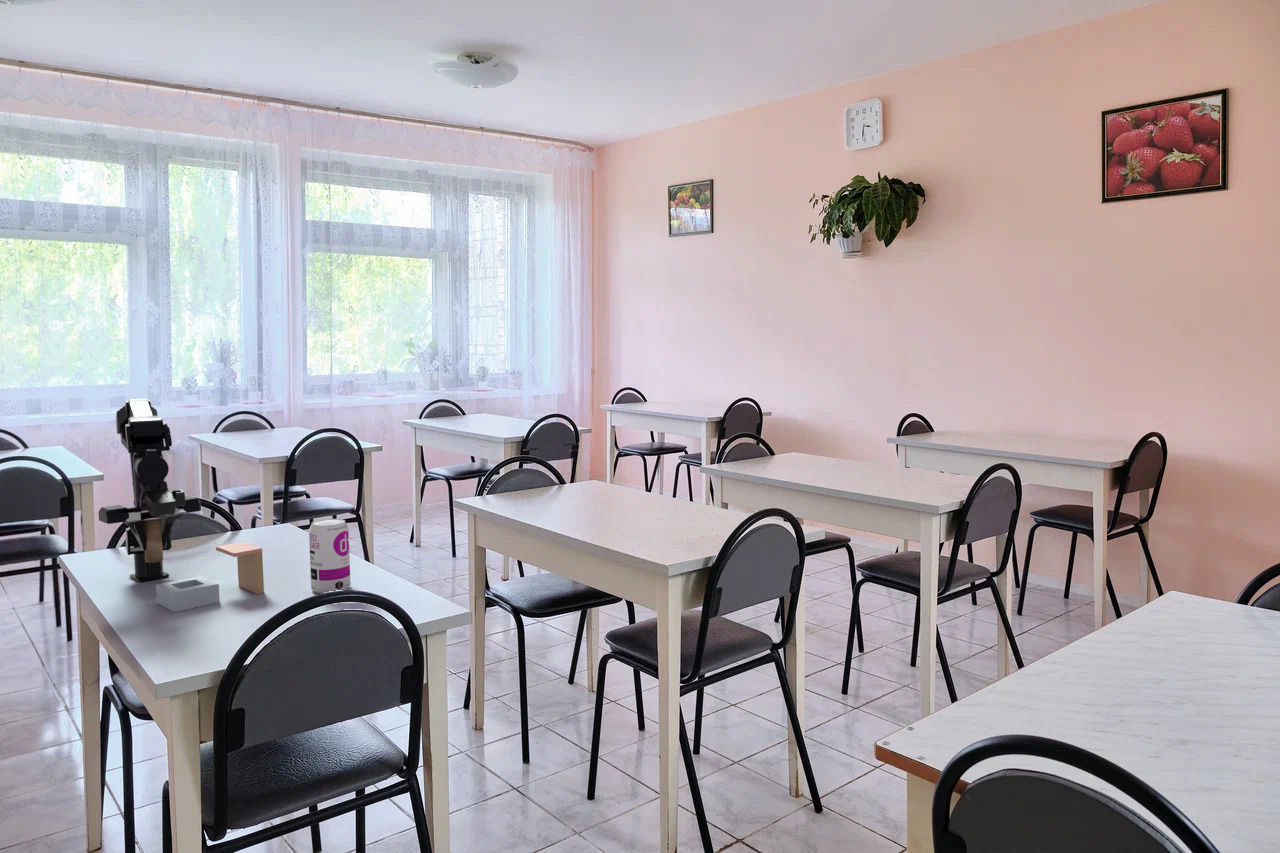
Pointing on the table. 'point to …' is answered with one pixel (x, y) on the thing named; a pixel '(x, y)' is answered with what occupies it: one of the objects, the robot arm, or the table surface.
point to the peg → (153, 540)
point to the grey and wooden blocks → (207, 591)
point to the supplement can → (329, 555)
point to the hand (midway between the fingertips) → (153, 548)
